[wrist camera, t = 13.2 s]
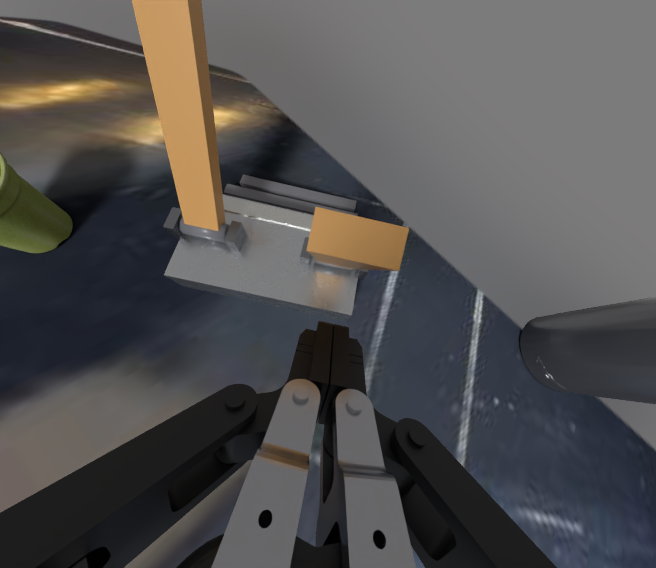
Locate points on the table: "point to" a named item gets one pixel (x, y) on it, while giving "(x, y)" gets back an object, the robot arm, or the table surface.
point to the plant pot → (29, 215)
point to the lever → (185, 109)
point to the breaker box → (262, 261)
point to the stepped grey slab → (288, 196)
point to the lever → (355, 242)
